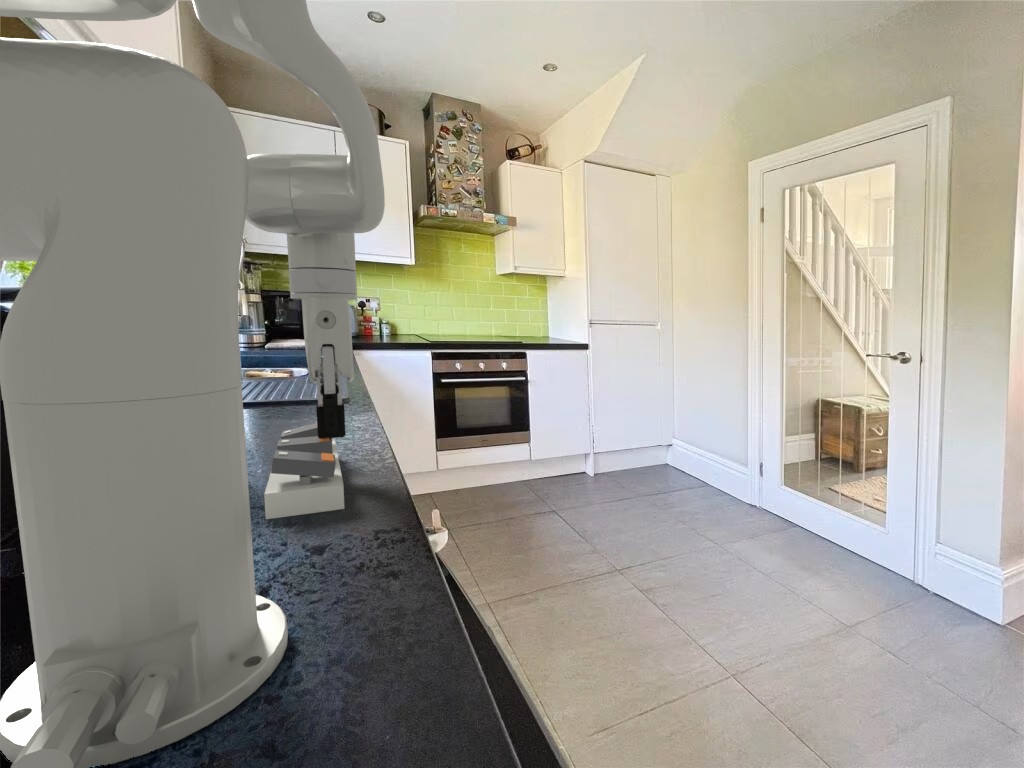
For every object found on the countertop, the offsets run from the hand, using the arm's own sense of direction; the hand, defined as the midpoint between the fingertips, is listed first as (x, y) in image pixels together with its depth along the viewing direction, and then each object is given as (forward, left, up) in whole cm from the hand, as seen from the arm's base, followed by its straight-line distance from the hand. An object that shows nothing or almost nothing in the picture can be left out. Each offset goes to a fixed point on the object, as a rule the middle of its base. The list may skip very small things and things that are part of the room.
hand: (331, 435), depth 61 cm
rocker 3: (-9, +3, -1) cm, 9 cm away
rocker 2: (-1, +3, -1) cm, 3 cm away
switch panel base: (-1, +3, -6) cm, 6 cm away
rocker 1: (+7, +3, -1) cm, 8 cm away
